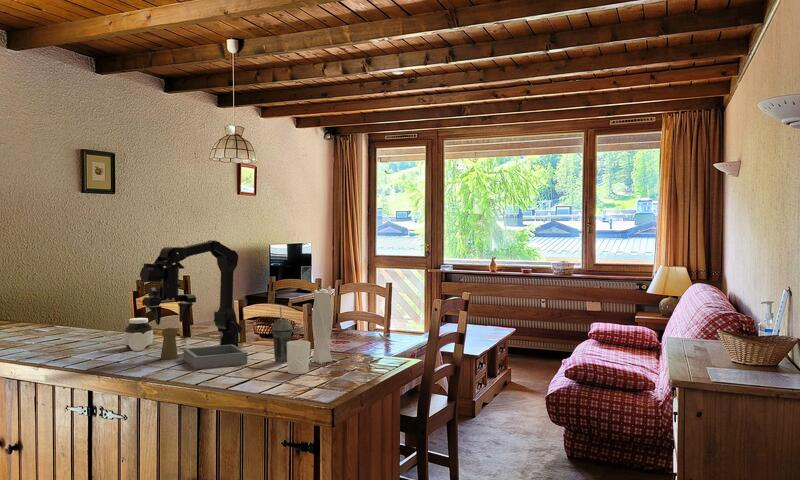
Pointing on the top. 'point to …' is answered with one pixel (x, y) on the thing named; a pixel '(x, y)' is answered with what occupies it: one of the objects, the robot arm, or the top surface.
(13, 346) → the top surface
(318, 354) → the grey tall twisted column
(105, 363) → the top surface
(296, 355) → the white cup
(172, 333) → the olive gourd-shaped piece
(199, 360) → the tray
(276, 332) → the beverage cup
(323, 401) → the top surface
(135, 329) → the spread jar
